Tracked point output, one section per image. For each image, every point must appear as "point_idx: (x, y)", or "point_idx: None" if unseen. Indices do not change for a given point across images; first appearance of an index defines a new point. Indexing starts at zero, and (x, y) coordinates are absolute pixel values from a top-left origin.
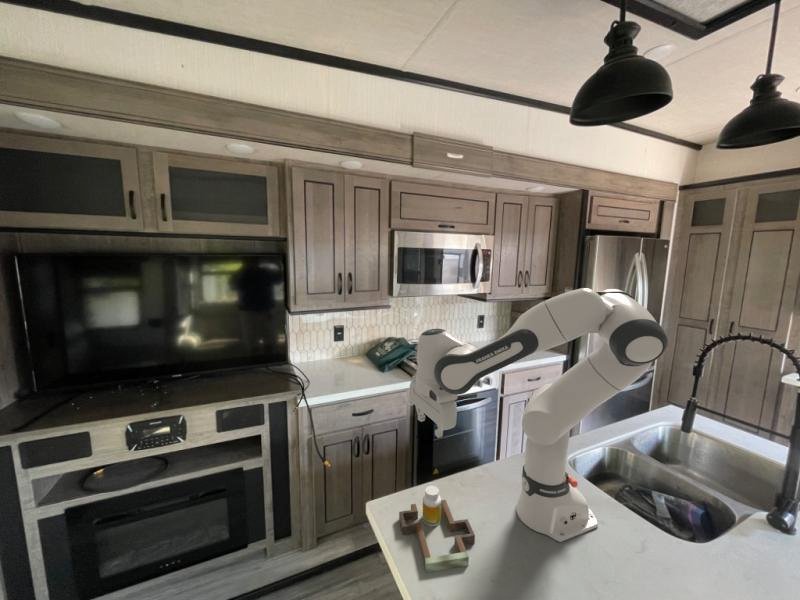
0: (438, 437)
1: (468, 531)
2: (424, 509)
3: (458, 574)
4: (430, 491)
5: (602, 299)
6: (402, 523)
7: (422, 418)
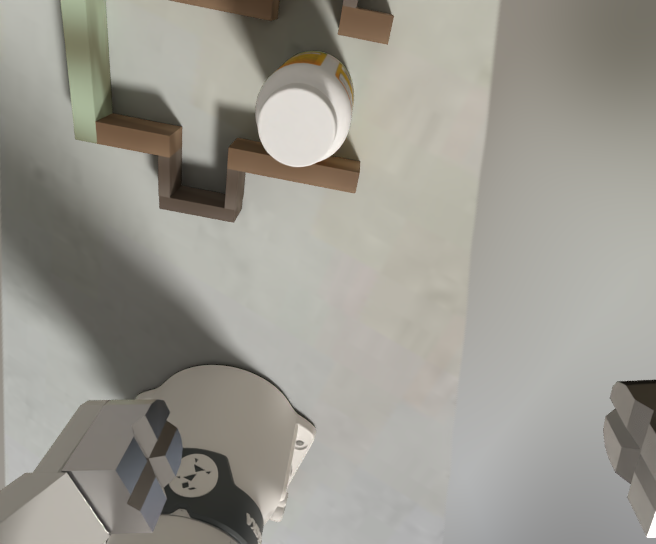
0: (94, 407)
1: (191, 197)
2: (295, 59)
3: (64, 77)
4: (290, 116)
5: None
6: None
7: (642, 452)
